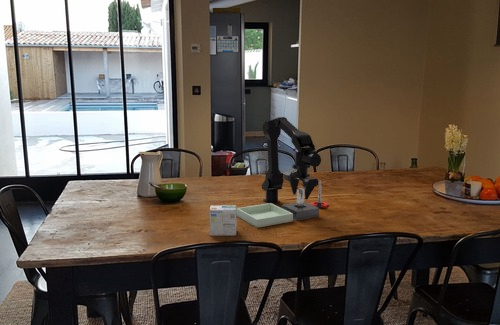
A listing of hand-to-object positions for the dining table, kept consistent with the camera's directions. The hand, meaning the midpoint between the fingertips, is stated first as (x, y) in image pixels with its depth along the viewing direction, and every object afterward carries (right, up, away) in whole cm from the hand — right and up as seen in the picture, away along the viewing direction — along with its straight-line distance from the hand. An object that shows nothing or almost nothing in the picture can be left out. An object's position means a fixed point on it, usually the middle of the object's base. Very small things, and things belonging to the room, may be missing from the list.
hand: (300, 196), depth 222 cm
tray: (-16, -9, -4) cm, 19 cm away
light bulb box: (-33, -13, -23) cm, 42 cm away
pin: (0, -8, +2) cm, 8 cm away
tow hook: (+11, -6, +17) cm, 21 cm away
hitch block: (0, -8, +2) cm, 8 cm away
